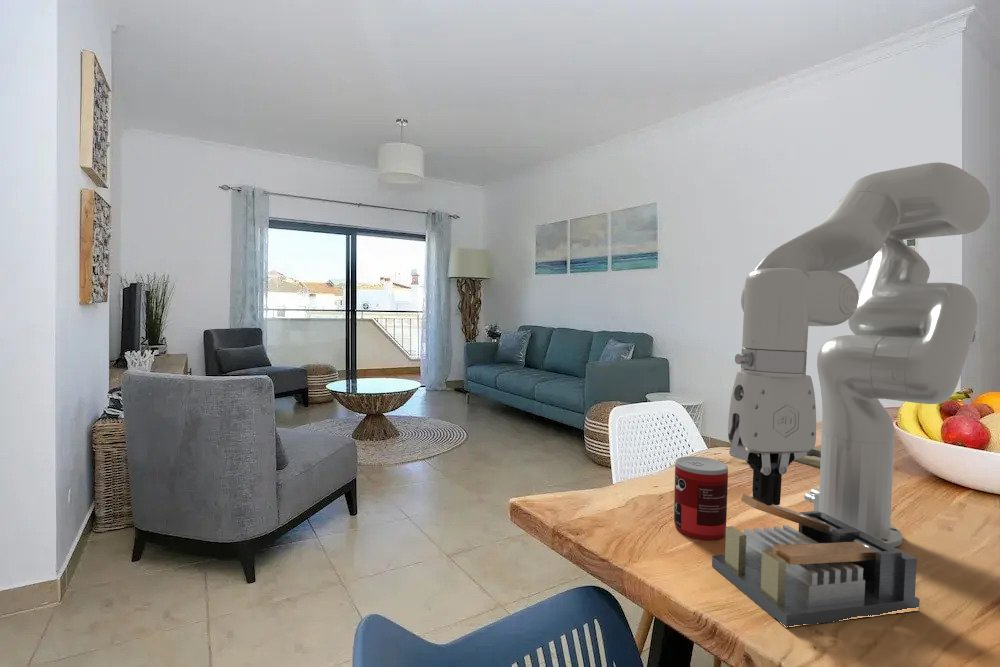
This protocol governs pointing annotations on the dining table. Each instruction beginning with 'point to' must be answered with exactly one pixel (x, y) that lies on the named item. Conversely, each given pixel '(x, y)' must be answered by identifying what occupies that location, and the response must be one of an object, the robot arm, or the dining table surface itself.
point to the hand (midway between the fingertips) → (766, 501)
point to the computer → (811, 458)
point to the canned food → (700, 497)
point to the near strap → (826, 552)
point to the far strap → (788, 514)
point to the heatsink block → (817, 575)
